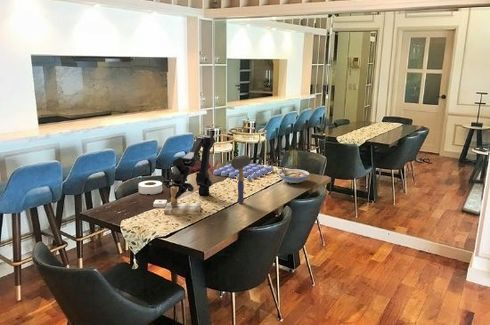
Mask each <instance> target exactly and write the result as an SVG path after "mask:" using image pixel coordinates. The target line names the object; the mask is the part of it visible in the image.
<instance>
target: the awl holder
mask: <svg viewBox="0 0 490 325" xmlns="http://www.w3.org/2000/svg"><path fill="white" fill-rule="evenodd" d="M167 204H168V200H167V199H155V200H154V201H153V206H152V207H153V208H165V207H166V205H167Z"/></svg>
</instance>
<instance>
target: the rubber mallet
mask: <svg viewBox="0 0 490 325" xmlns="http://www.w3.org/2000/svg"><path fill="white" fill-rule="evenodd" d="M230 164H231V166H232V167H233V168H234V169H239V179H238V181H237V202H238V204H243V203H244V201H245V199H244V188H245V185H244V177H243V167H246V166H248V165H249V164H251V158H250V156H249V155H248V154H247V155H246V154H243V155H239V156H238V155H237V156H235V157H234V158H232V159H231V162H230Z"/></svg>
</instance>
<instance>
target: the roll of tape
mask: <svg viewBox="0 0 490 325" xmlns="http://www.w3.org/2000/svg"><path fill="white" fill-rule="evenodd" d="M162 192H163V182H161V181H160V180H144V181H141V182H139V183H138V193H139V194H141V195H147V194H150V195H156V194H160V193H162Z"/></svg>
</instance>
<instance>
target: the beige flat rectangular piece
mask: <svg viewBox="0 0 490 325" xmlns="http://www.w3.org/2000/svg"><path fill="white" fill-rule="evenodd" d="M177 203H178V202H177ZM201 208H202V203H200V202H199V203H198V202H195V203H194V202H193V203H191V202H185V203H184V202H183V203H178V206H175V207H174V206H171V202H167V205H166V207H164V209H163V215H200V212H201Z"/></svg>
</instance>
